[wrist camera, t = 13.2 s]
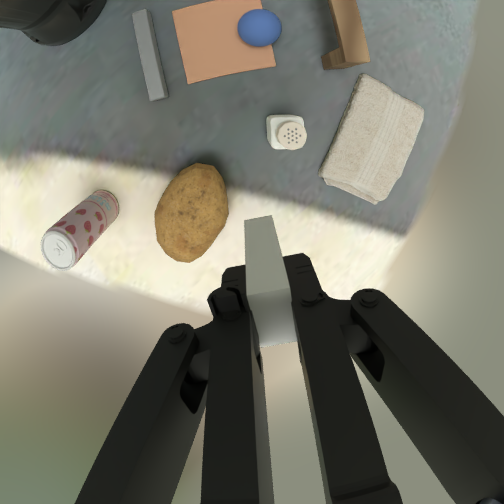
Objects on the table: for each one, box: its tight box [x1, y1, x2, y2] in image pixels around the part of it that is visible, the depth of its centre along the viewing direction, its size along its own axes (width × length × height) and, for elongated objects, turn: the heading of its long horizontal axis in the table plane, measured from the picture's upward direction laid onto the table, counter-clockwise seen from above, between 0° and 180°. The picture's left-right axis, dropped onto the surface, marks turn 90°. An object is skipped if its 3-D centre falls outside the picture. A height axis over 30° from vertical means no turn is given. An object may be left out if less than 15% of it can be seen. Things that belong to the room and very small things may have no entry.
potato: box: [155, 163, 229, 263], centre depth 39 cm, size 10×14×8 cm
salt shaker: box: [266, 115, 307, 150], centre depth 33 cm, size 4×4×10 cm
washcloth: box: [318, 74, 424, 205], centre depth 37 cm, size 12×18×3 cm, turn 161°
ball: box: [237, 9, 281, 47], centre depth 28 cm, size 6×6×6 cm
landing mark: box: [172, 0, 276, 84], centre depth 31 cm, size 12×12×1 cm
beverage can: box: [41, 190, 119, 271], centre depth 35 cm, size 6×6×15 cm
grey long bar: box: [132, 8, 169, 101], centre depth 30 cm, size 14×2×2 cm, turn 11°
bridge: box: [321, 0, 370, 70], centre depth 26 cm, size 3×14×9 cm, turn 11°
